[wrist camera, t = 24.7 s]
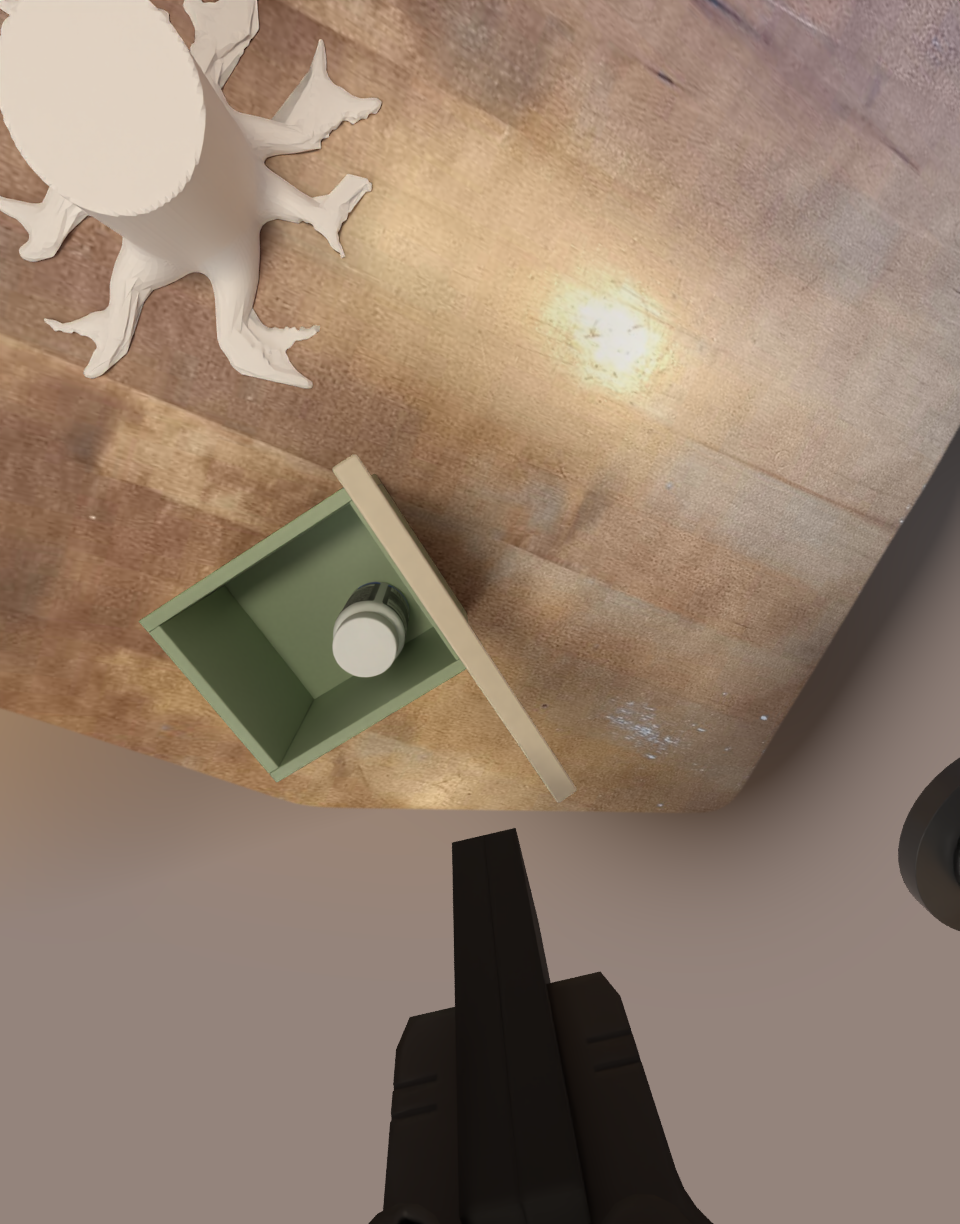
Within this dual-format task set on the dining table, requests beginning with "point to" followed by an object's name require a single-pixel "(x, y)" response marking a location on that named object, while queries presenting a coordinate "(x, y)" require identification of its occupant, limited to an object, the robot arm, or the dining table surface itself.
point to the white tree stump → (164, 159)
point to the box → (299, 637)
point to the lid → (452, 623)
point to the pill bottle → (371, 629)
